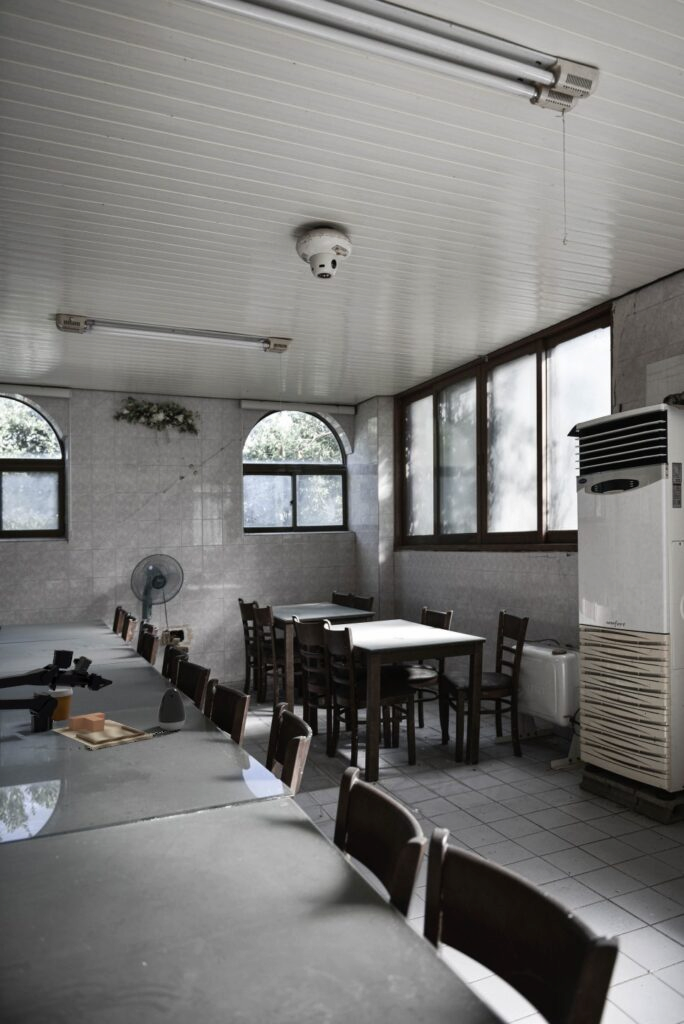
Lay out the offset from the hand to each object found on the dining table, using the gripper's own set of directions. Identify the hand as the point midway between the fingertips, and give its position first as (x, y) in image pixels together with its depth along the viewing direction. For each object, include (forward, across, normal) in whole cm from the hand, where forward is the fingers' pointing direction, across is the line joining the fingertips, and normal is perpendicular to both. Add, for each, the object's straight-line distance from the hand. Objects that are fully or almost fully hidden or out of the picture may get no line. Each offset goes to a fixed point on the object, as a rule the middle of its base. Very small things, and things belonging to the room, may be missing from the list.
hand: (106, 680), depth 282 cm
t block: (-8, -11, +16) cm, 21 cm away
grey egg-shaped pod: (+14, -30, +13) cm, 36 cm away
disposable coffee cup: (-9, +15, +18) cm, 25 cm away
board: (-8, -19, +17) cm, 27 cm away
